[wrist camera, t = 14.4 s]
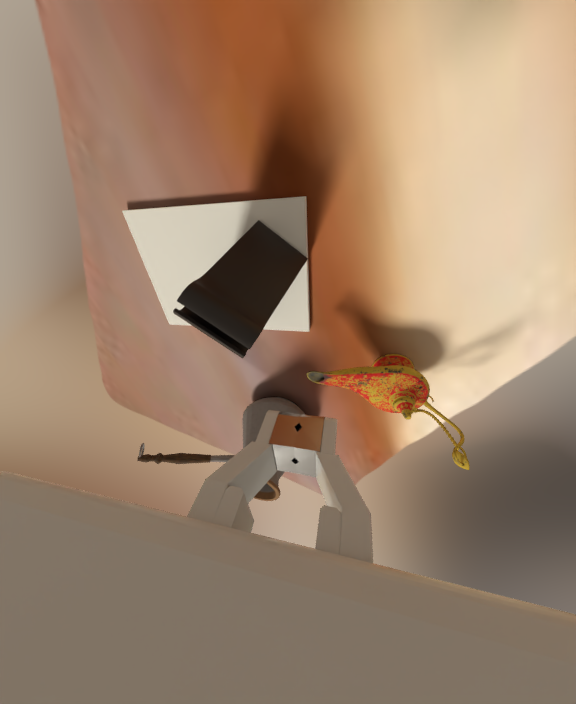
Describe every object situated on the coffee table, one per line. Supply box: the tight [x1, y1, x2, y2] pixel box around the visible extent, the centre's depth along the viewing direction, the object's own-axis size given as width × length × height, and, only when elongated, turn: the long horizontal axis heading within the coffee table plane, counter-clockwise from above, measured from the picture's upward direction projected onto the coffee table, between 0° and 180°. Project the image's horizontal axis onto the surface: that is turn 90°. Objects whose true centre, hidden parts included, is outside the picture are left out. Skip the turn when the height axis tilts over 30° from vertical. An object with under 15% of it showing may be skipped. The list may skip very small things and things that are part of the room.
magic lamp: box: [307, 354, 469, 470], centre depth 27 cm, size 7×18×11 cm, turn 73°
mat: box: [122, 196, 310, 332], centre depth 28 cm, size 20×14×1 cm
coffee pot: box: [138, 397, 305, 501], centre depth 36 cm, size 21×12×15 cm, turn 69°
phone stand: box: [173, 220, 308, 358], centre depth 22 cm, size 9×6×12 cm, turn 146°
